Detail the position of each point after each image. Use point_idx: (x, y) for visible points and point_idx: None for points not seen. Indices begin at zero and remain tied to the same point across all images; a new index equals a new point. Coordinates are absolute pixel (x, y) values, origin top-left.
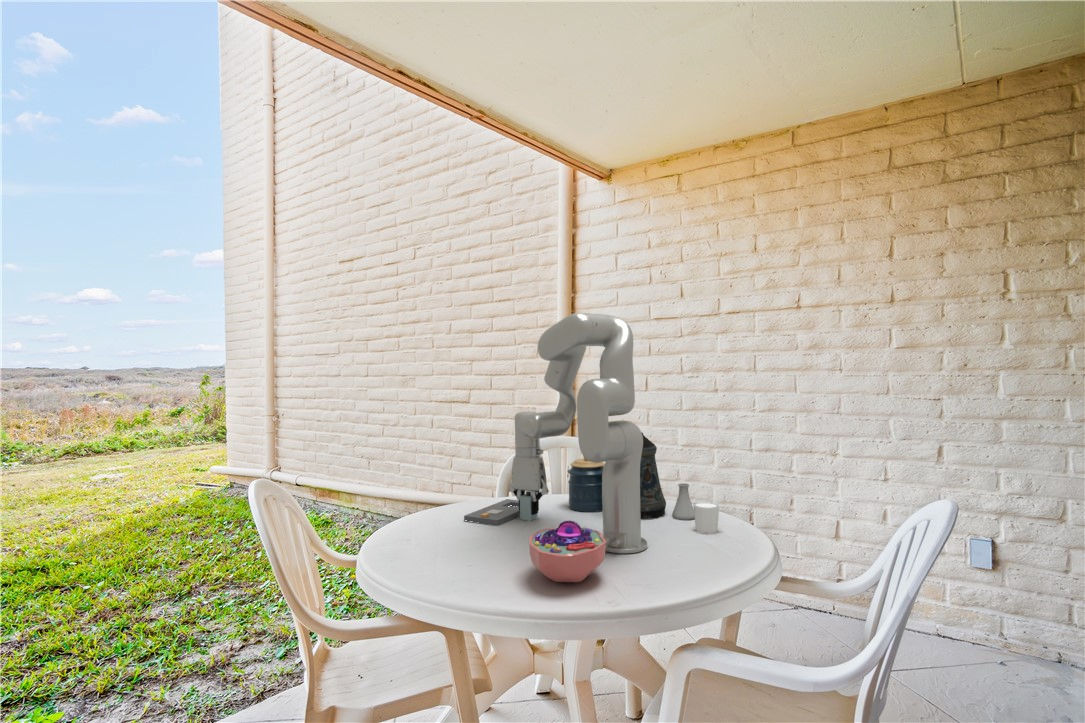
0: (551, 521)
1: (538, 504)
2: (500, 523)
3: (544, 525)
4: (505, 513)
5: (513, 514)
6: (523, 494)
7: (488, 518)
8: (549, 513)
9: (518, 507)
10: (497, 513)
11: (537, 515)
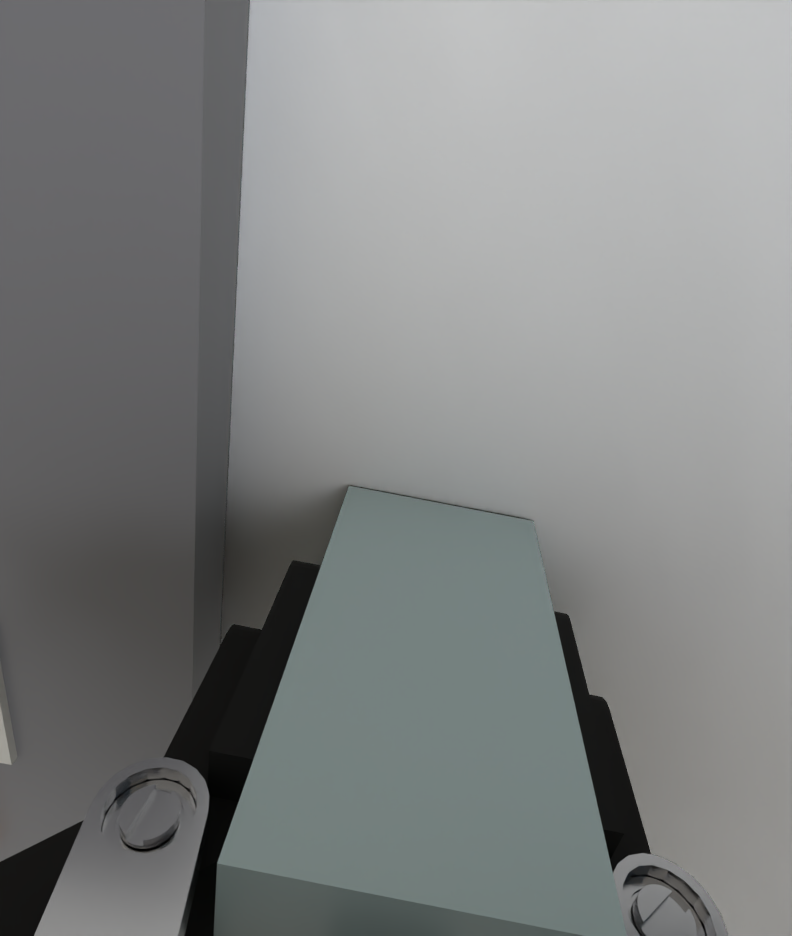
0: (784, 660)
1: (630, 798)
2: None
3: (703, 801)
4: (95, 710)
5: (199, 672)
6: (171, 917)
7: None
8: (704, 205)
9: (44, 332)
10: (11, 746)
11: (536, 542)
